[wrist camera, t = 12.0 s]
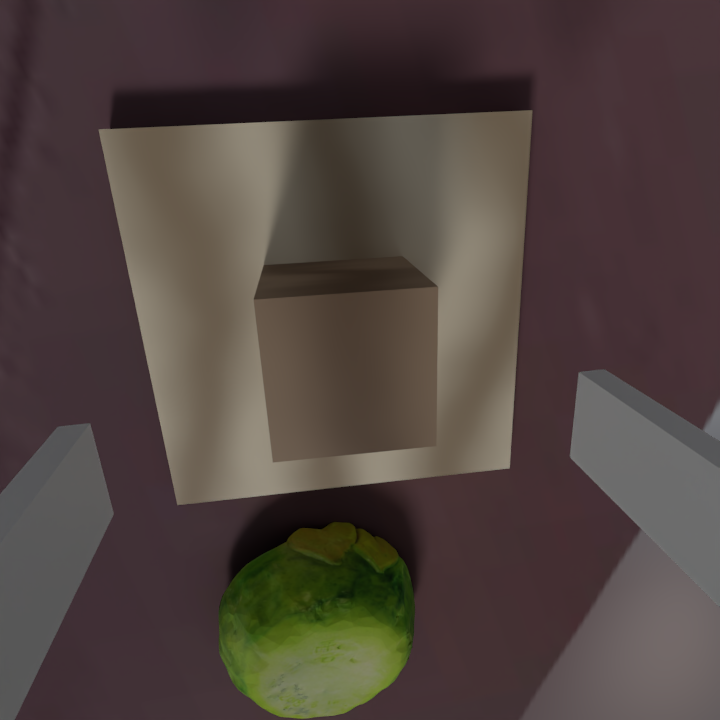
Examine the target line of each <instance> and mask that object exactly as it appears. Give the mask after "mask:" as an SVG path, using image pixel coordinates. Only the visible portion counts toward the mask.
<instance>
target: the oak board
mask: <svg viewBox="0 0 720 720" xmlns="http://www.w3.org/2000/svg"><path fill="white" fill-rule="evenodd" d="M531 125H532V110H526V111H503V112H481V113H459V114H436V115H414V116H392V117H369V118H347V119H324V120H302V121H280V122H257V123H235V124H212V125H190V126H168V127H145V128H123V129H101V130H99V134H100V139H101V143H102V148H103V153H104V158H105V162H106V167H107V172H108V177H109V181H110V186H111V191H112V196H113V200H114V205H115V210H116V215H117V219H118V224H119V229H120V234H121V239H122V243H123V248H124V253H125V258H126V262H127V267H128V272H129V277H130V281H131V286H132V291H133V296H134V300H135V305H136V310H137V315H138V319H139V324H140V329H141V334H142V338H143V343H144V348H145V353H146V358H147V362H148V367H149V372H150V377H151V381H152V386H153V391H154V396H155V400H156V405H157V410H158V415H159V419H160V424H161V429H162V434H163V438H164V443H165V448H166V453H167V457H168V462H169V467H170V472H171V477H172V481H173V486H174V491H175V496H176V500H177V505H183V504H192V503H201V502H210V501H219V500H228V499H237V498H246V497H255V496H264V495H273V494H282V493H291V492H300V491H309V490H318V489H327V488H336V487H345V486H354V485H363V484H372V483H381V482H390V481H399V480H408V479H417V478H426V477H435V476H444V475H453V474H462V473H471V472H480V471H489V470H498V469H507V468H510V454H511V438H512V423H513V407H514V391H515V376H516V360H517V344H518V329H519V313H520V297H521V282H522V266H523V250H524V235H525V219H526V203H527V188H528V172H529V156H530V141H531ZM398 256H403V257H404V258H405V259H407V260H408V261H409V262H410V263H411V264H412V265H414V266H415V267H416V268H417V269H418V270H419V271H421V272H422V273H423V274H424V275H425V276H426V277H428V278H429V279H430V280H431V281H432V282H433V283H435V284H436V285H437V286H438V354H437V440H436V446H433V447H423V448H413V449H403V450H393V451H383V452H373V453H363V454H353V455H343V456H333V457H323V458H313V459H303V460H293V461H283V462H273V459H272V451H271V442H270V434H269V426H268V417H267V409H266V401H265V392H264V384H263V375H262V367H261V359H260V350H259V342H258V333H257V325H256V317H255V308H254V296H255V293H256V289H257V286H258V282H259V279H260V276H261V272H262V269H263V265H274V264H289V263H305V262H320V261H336V260H351V259H367V258H383V257H398Z"/></svg>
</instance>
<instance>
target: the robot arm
mask: <svg viewBox="0 0 720 720" xmlns="http://www.w3.org/2000/svg"><path fill="white" fill-rule="evenodd" d="M570 458H571V459H572V460H573V461H574V462H575V463H576V464H577V465H578V466H579V467H580V468H581V469H582V470H583V471H584V472H585V473H586V474H587V475H588V476H589V477H590V478H591V479H592V480H593V481H594V482H595V483H596V484H597V485H598V486H599V487H600V488H601V489H602V490H603V491H604V492H605V493H606V494H607V495H608V496H609V497H610V498H611V499H612V500H613V501H614V502H615V503H616V504H617V505H618V506H619V507H620V508H621V509H622V510H623V511H624V512H625V513H626V514H627V515H628V516H629V517H630V518H631V519H632V520H633V521H634V522H635V523H636V524H637V525H638V526H639V527H640V528H641V529H642V530H643V531H644V532H645V533H646V534H647V535H648V536H649V537H650V538H651V539H652V540H653V541H654V542H655V543H656V544H657V545H658V546H659V547H660V548H661V549H662V550H663V551H664V552H665V553H666V554H667V555H668V556H669V557H670V558H671V559H672V560H673V561H674V562H675V563H676V564H677V565H678V566H679V567H680V568H681V569H682V570H683V571H684V572H685V573H686V574H687V575H688V576H689V577H690V578H691V579H692V580H693V581H694V582H695V583H696V584H697V585H698V586H699V587H700V588H701V589H702V590H703V591H704V592H705V593H706V594H707V595H708V596H709V597H710V598H711V599H712V600H713V601H714V602H715V603H716V604H717V605H718V606H719V607H720V441H718V440H717V439H715V438H713V437H712V436H710V435H708V434H707V433H705V432H704V431H702V430H701V429H699V428H697V427H696V426H694V425H693V424H691V423H689V422H688V421H686V420H685V419H683V418H681V417H680V416H678V415H677V414H675V413H673V412H672V411H670V410H669V409H667V408H665V407H664V406H662V405H661V404H659V403H657V402H656V401H654V400H653V399H651V398H649V397H648V396H646V395H645V394H643V393H641V392H640V391H638V390H637V389H635V388H633V387H632V386H630V385H629V384H627V383H625V382H624V381H622V380H621V379H619V378H617V377H616V376H614V375H613V374H611V373H609V372H608V371H606V370H605V369H604V370H594V371H584V372H579V376H578V386H577V395H576V404H575V414H574V423H573V432H572V442H571V451H570ZM113 514H114V513H113V509H112V506H111V502H110V498H109V494H108V490H107V486H106V483H105V479H104V475H103V471H102V467H101V463H100V460H99V456H98V452H97V448H96V444H95V440H94V437H93V433H92V429H91V425H90V423H89V424H79V425H70V426H60V427H57V428H56V430H55V431H54V432H53V433H52V434H51V435H50V437H49V438H48V439H47V440H46V441H45V442H44V444H43V445H42V446H41V447H40V448H39V449H38V451H37V452H36V453H35V454H34V455H33V456H32V458H31V459H30V460H29V461H28V462H27V463H26V465H25V466H24V467H23V468H22V469H21V470H20V472H19V473H18V474H17V475H16V476H15V477H14V479H13V480H12V481H11V482H10V483H9V484H8V486H7V487H6V488H5V489H4V490H3V491H2V493H1V494H0V720H15V718H16V716H17V714H18V712H19V710H20V707H21V705H22V703H23V701H24V699H25V697H26V695H27V693H28V691H29V689H30V687H31V685H32V683H33V681H34V678H35V676H36V674H37V672H38V670H39V668H40V666H41V664H42V662H43V660H44V658H45V656H46V654H47V651H48V649H49V647H50V645H51V643H52V641H53V639H54V637H55V635H56V633H57V631H58V629H59V627H60V624H61V622H62V620H63V618H64V616H65V614H66V612H67V610H68V608H69V606H70V604H71V602H72V600H73V597H74V595H75V593H76V591H77V589H78V587H79V585H80V583H81V581H82V579H83V577H84V575H85V573H86V570H87V568H88V566H89V564H90V562H91V560H92V558H93V556H94V554H95V552H96V550H97V548H98V546H99V543H100V541H101V539H102V537H103V535H104V533H105V531H106V529H107V527H108V525H109V523H110V521H111V519H112V516H113Z"/></svg>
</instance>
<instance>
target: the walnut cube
mask: <svg viewBox="0 0 720 720" xmlns="http://www.w3.org/2000/svg"><path fill="white" fill-rule="evenodd" d="M254 308H255V317H256V325H257V333H258V342H259V350H260V359H261V367H262V375H263V384H264V392H265V401H266V409H267V417H268V426H269V434H270V442H271V451H272V459H273V462H283V461H293V460H303V459H313V458H323V457H333V456H343V455H353V454H363V453H373V452H383V451H393V450H403V449H413V448H423V447H433V446H436V440H437V354H438V286H437V285H436V284H435V283H433V282H432V281H431V280H430V279H429V278H428V277H426V276H425V275H424V274H423V273H422V272H421V271H419V270H418V269H417V268H416V267H415V266H414V265H412V264H411V263H410V262H409V261H408V260H407V259H405V258H404V257H403V256H398V257H383V258H367V259H351V260H336V261H320V262H305V263H289V264H274V265H263V269H262V272H261V276H260V279H259V282H258V286H257V289H256V293H255V296H254Z"/></svg>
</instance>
